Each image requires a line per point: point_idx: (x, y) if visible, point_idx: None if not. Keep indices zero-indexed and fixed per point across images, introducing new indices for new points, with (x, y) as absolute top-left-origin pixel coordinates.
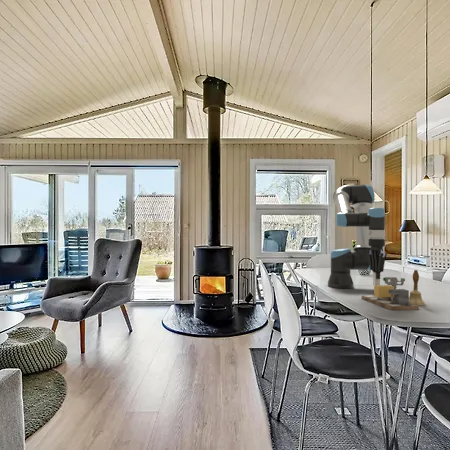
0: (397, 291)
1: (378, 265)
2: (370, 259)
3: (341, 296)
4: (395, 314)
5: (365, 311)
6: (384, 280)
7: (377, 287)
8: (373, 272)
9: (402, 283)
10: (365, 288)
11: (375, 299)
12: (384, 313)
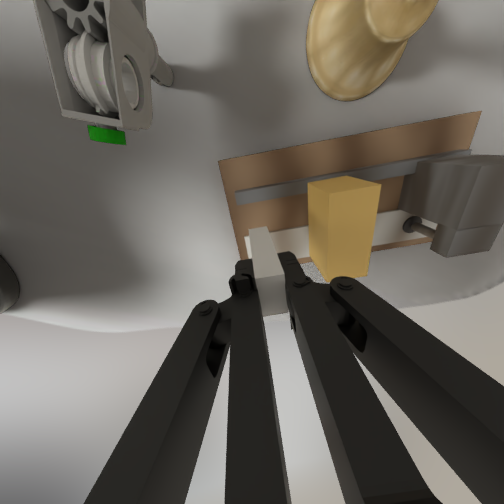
0: (494, 229)
1: (382, 376)
2: (182, 500)
3: None
4: None
5: (407, 304)
6: (123, 136)
7: (354, 274)
8: (265, 314)
9: None
10: None
11: None
12: (446, 269)
